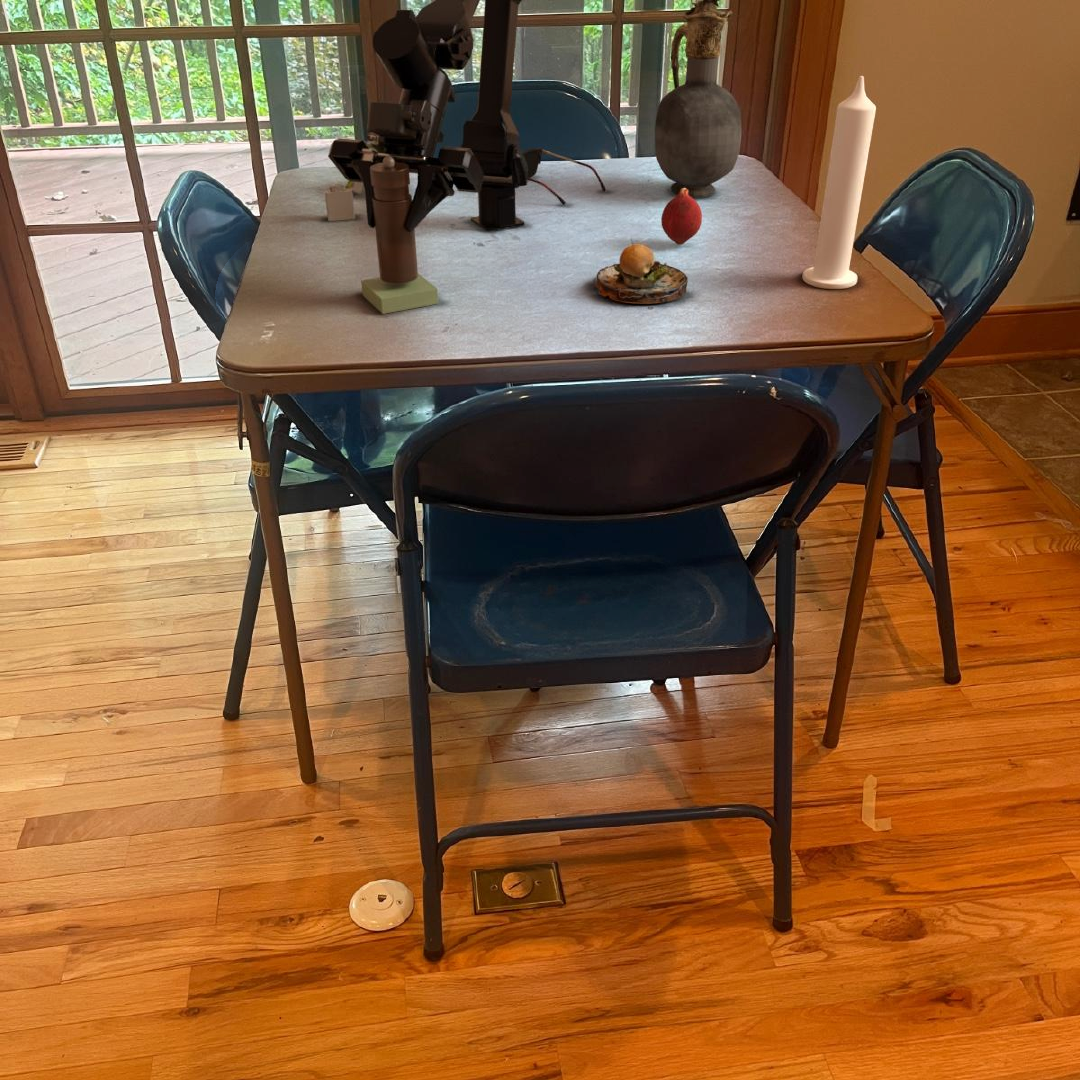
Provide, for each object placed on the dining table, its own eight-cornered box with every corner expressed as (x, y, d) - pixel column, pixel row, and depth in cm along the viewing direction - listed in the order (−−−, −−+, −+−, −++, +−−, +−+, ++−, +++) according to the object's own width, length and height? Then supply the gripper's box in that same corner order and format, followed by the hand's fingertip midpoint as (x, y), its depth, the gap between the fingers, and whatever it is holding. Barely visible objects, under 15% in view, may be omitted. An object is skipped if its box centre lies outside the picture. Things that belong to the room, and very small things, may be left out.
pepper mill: (379, 271, 128) (367, 152, 120) (416, 269, 129) (407, 150, 121) (381, 285, 124) (368, 162, 116) (419, 282, 125) (410, 160, 117)
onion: (698, 252, 143) (703, 195, 139) (658, 249, 144) (661, 193, 140) (701, 239, 148) (705, 184, 143) (662, 237, 149) (665, 182, 144)
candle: (826, 292, 129) (859, 83, 115) (791, 276, 135) (818, 74, 121) (868, 283, 132) (905, 77, 118) (831, 268, 137) (863, 69, 123)
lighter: (328, 221, 157) (322, 168, 152) (327, 218, 158) (321, 165, 154) (374, 217, 158) (369, 164, 154) (372, 214, 160) (367, 162, 155)
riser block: (362, 295, 130) (360, 280, 128) (416, 285, 132) (415, 270, 131) (382, 314, 124) (380, 298, 123) (438, 303, 127) (437, 288, 126)
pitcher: (681, 207, 162) (696, -3, 145) (637, 178, 177) (646, -15, 160) (742, 201, 164) (764, -6, 148) (694, 173, 179) (709, -17, 163)
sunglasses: (539, 174, 179) (541, 145, 176) (610, 195, 171) (613, 166, 168) (487, 190, 171) (487, 160, 168) (558, 213, 163) (560, 182, 160)
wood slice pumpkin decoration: (704, 294, 129) (710, 236, 125) (631, 312, 124) (633, 253, 120) (648, 268, 138) (651, 213, 133) (577, 284, 132) (577, 228, 128)
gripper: (325, 67, 119) (290, 186, 117) (470, 75, 114) (437, 200, 112) (363, 123, 130) (332, 233, 128) (497, 132, 125) (467, 248, 122)
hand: (389, 228), depth 122 cm, fingers closed on pepper mill, 5 cm apart
